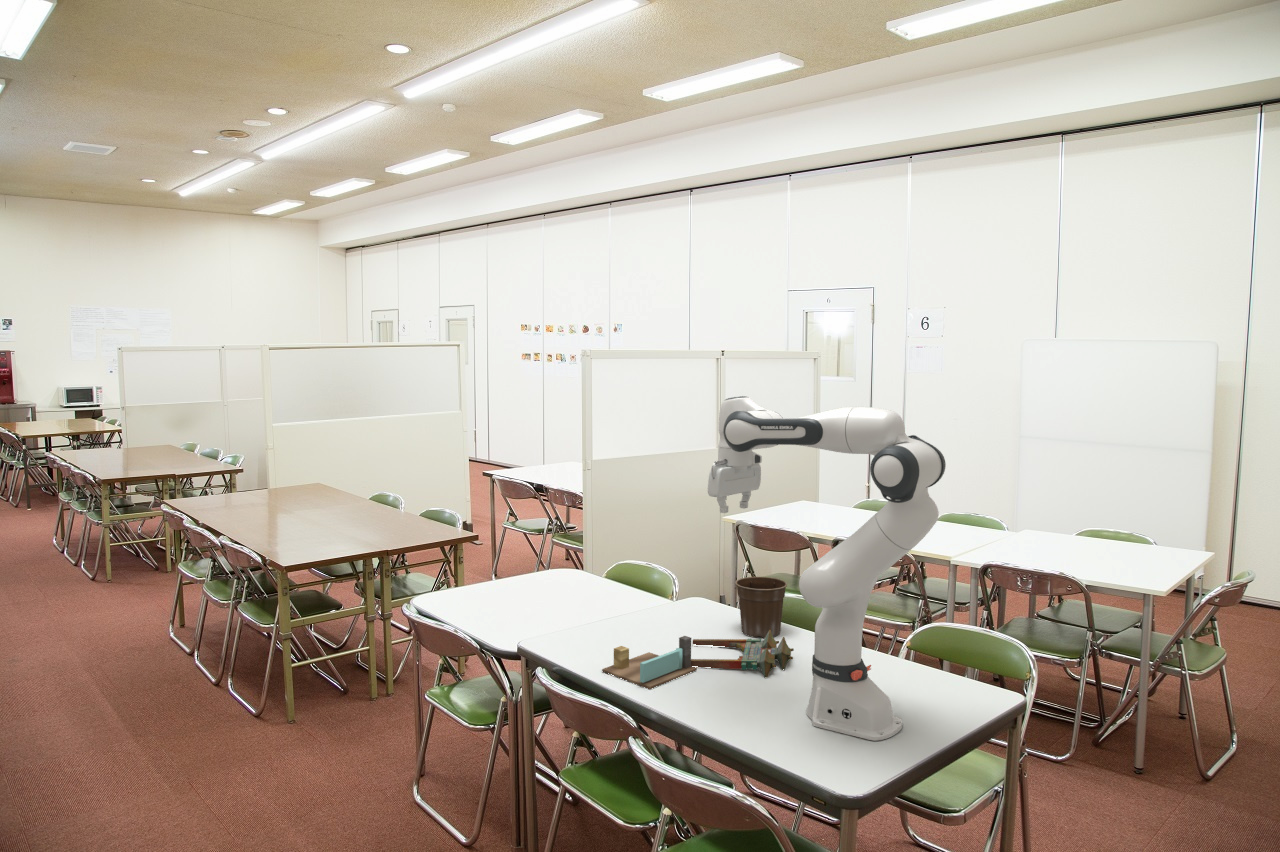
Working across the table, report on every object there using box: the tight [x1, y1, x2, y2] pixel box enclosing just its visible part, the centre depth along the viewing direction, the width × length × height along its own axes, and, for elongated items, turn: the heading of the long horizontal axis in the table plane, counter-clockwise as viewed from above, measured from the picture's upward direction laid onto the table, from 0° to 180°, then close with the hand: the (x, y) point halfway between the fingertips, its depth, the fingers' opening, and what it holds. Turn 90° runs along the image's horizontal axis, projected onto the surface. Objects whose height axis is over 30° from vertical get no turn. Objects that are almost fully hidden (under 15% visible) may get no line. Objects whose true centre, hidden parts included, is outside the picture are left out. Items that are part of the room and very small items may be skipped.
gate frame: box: [601, 635, 698, 690], centre depth 230 cm, size 18×19×9 cm
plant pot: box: [735, 576, 788, 639], centre depth 264 cm, size 16×16×16 cm
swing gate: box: [640, 647, 682, 683], centre depth 224 cm, size 2×16×5 cm, turn 137°
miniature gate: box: [691, 630, 794, 678], centre depth 240 cm, size 27×6×30 cm
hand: (734, 510), depth 220 cm, fingers open, 8 cm apart
